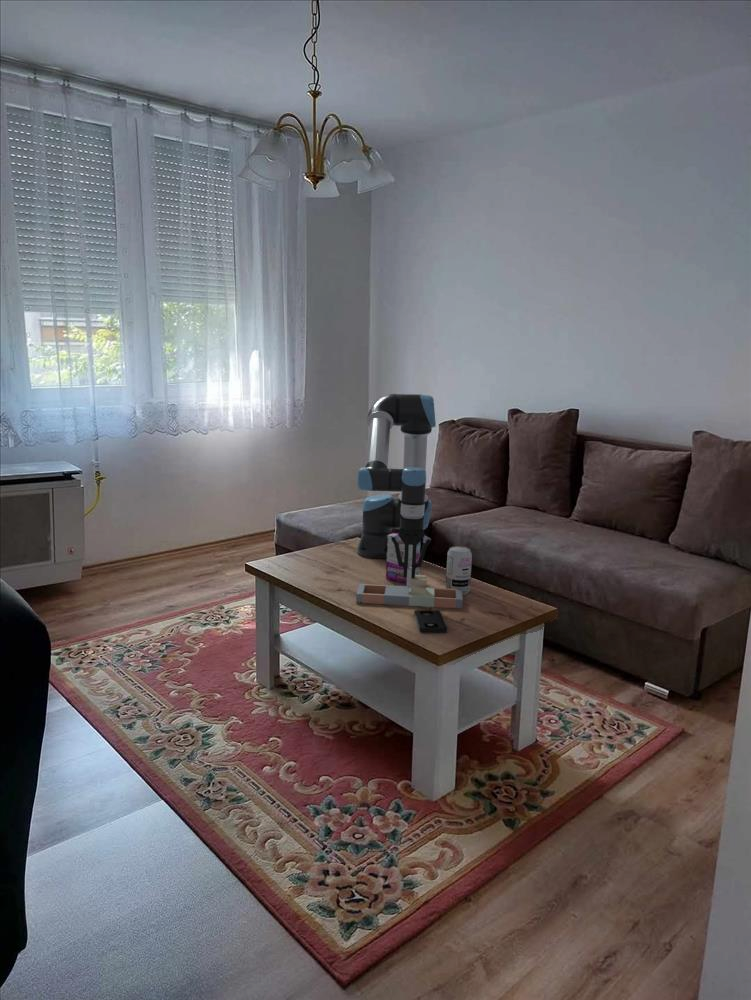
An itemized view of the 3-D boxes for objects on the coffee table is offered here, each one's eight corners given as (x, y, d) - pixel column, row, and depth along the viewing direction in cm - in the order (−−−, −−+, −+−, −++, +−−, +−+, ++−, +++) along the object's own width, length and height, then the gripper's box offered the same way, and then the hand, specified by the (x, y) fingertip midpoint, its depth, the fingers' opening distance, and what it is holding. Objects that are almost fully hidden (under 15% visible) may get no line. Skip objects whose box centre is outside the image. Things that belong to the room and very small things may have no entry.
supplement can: (452, 586, 250) (455, 544, 247) (473, 591, 245) (476, 549, 242) (441, 592, 244) (443, 549, 240) (462, 597, 239) (465, 554, 236)
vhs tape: (413, 616, 222) (414, 610, 222) (439, 616, 223) (439, 610, 223) (419, 634, 208) (420, 628, 208) (446, 634, 209) (447, 628, 209)
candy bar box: (419, 581, 254) (421, 536, 251) (413, 585, 250) (415, 539, 247) (391, 575, 259) (393, 531, 256) (385, 579, 255) (386, 534, 252)
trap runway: (359, 592, 241) (359, 583, 240) (461, 597, 239) (461, 589, 238) (356, 602, 231) (356, 593, 231) (462, 608, 229) (462, 599, 228)
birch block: (410, 589, 236) (411, 574, 235) (426, 590, 236) (426, 575, 235) (410, 594, 232) (411, 579, 231) (425, 595, 231) (426, 580, 230)
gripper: (391, 517, 226) (388, 589, 231) (432, 520, 225) (428, 591, 230) (392, 512, 233) (389, 582, 238) (432, 514, 232) (428, 584, 237)
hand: (408, 586), depth 234 cm, fingers closed
